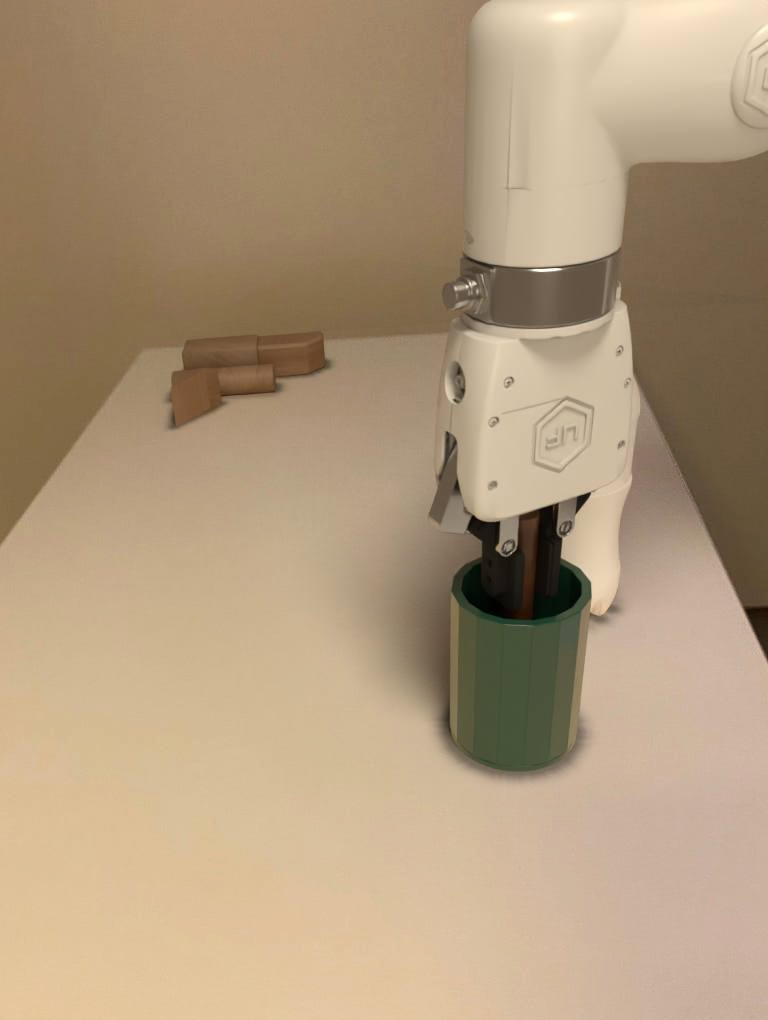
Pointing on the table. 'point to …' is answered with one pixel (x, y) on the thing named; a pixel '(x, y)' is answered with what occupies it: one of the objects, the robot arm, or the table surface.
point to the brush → (527, 563)
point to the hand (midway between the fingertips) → (519, 591)
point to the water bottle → (602, 526)
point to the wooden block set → (239, 368)
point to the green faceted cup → (517, 672)
